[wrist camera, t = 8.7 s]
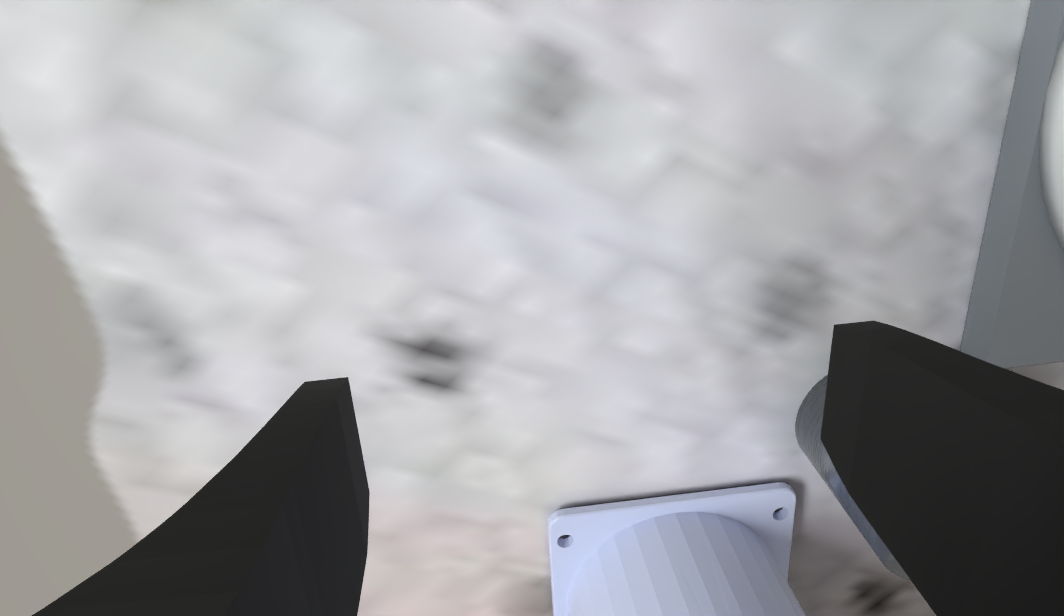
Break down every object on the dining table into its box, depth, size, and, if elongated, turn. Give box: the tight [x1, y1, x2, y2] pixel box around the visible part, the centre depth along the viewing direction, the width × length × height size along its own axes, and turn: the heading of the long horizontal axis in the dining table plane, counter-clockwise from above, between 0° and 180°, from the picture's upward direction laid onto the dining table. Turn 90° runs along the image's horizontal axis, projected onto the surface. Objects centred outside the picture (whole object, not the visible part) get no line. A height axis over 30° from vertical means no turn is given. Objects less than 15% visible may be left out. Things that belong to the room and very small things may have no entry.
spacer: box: [795, 375, 910, 580], centre depth 23 cm, size 4×4×5 cm
